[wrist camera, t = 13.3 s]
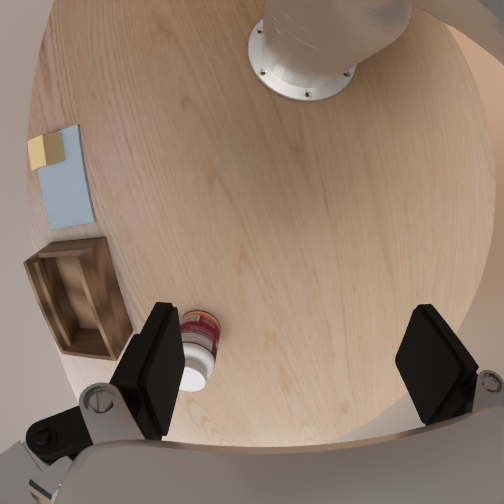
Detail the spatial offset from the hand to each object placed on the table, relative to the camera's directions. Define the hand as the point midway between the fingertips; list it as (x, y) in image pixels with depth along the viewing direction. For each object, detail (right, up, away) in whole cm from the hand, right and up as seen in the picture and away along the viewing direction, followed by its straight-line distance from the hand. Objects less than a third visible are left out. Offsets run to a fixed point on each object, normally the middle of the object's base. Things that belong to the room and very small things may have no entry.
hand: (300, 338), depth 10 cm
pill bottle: (-9, -8, +31) cm, 34 cm away
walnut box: (-27, -2, +29) cm, 40 cm away
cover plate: (-28, +14, +23) cm, 39 cm away
